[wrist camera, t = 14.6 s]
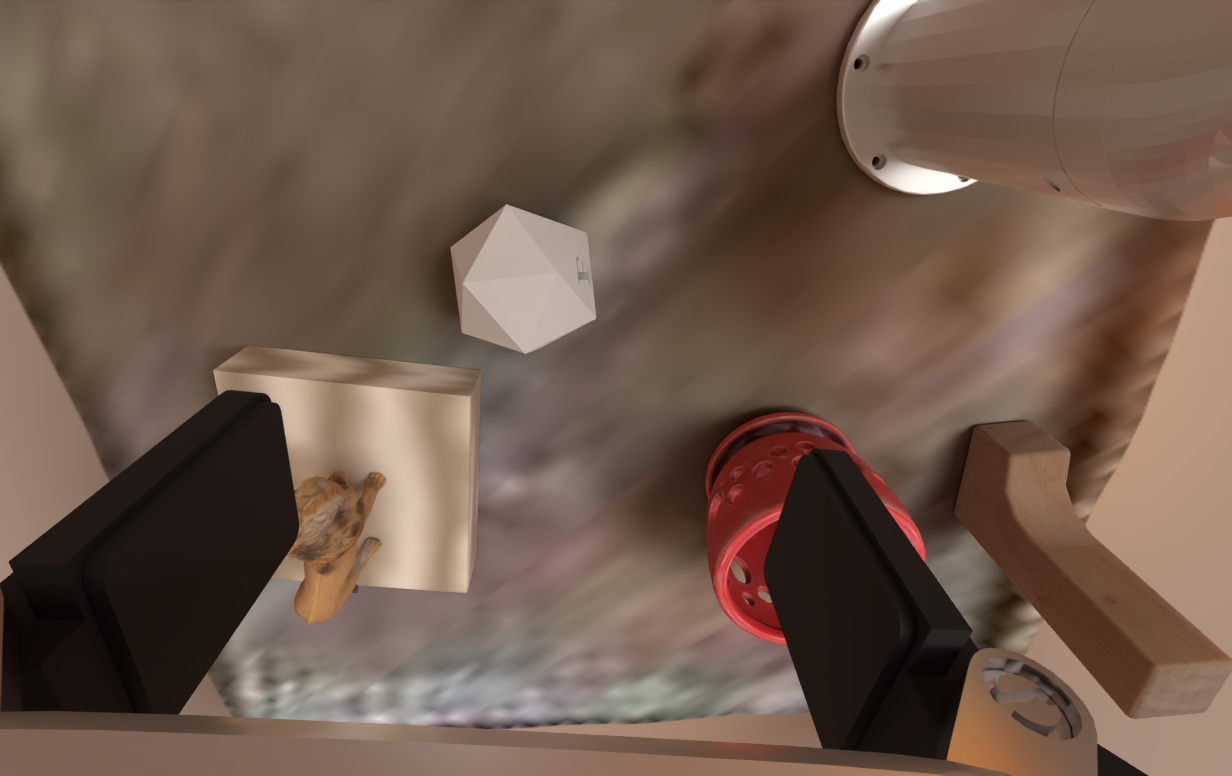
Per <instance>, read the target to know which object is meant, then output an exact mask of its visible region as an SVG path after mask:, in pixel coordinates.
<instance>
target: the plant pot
mask: <svg viewBox="0 0 1232 776" xmlns="http://www.w3.org/2000/svg"><path fill="white" fill-rule="evenodd" d="M814 448H821V449H831V450H841V451H846V452H847V453H848V454H849V455H850V456H851V458H852V459H853V461H854V462H855V463H856V465H857V466H858V468H859V469H860V471H861V472H862V473H863V475H864V476H865V478H866V479H867V481H868V482H869V483H870V485H871V486H872V488H873V489H874V491H875V492H876V493H877V495H878V496H879V498H880V499H881V501H882V502H883V503H884V505H885V506H886V508H887V509H888V511H889V512H890V513H891V515H892V516H893V518H894V519H895V521H896V522H897V523H898V525H899V526H900V528H901V529H902V531H903V532H904V533H905V535H906V536H907V538H908V539H909V541H910V542H911V543H912V545H913V546H914V548H915V549H916V551H917V552H918V553H919V555H920V556H921V558H922V559H923V561H924V562H925V563H926V555H925V547H924V543H923V540H922V537H921V534H920V532H919V530H918V529H917V527H916V525H915V523H914V522H913V520H912V518H911V517H910V515H909V513H908V512H907V510H906V509H905V507H904V506H903V504H902V503H901V502H900V501H899V499H898V498H897V497H896V495H895V494H894V493H893V491H892V490H891V489H890V488H889V487H888V485H887V484H886V483H885V482H884V481H883V480H882V479H881V477H880V476H879V475H878V474H876V473H875V472H874V471H873V470H872V469H871V468H870V467H869V466H868V465H867V464H866V463H865V462H864V461H863V460H862V459H860V458H859V457H858V456H857V455H856V454H855V451H854V449H853V446H852V444H851V443H850V441H849V440H848V438H847V437H846V436H845V435H844V434H843V433H842V431H840V430H839V429H838V428H837V427H836V426H834V425H833V424H831V423H830V422H828V421H826V420H824V419H822V418H819V417H817V416H814V415H810V414H805V413H798V412H780V413H772V414H768V415H764V416H761V417H758V418H755V419H753V420H751V421H749V422H747V423H745V424H743V425H741V426H740V427H738V428H737V429H735V430H734V431H733V432H731V433H730V434H729V435H728V436H727V437H726V438H725V439H724V440H723V441H722V442H721V443H720V445H719V446H718V447H717V449H716V450H715V452H714V454H713V455H712V457H711V459H710V462H709V464H708V467H707V472H706V493H707V497H708V500H709V502H708V508H707V520H706V543H707V554H708V562H709V569H710V574H711V579H712V584H713V588H714V592H715V595H716V598H717V600H718V603H719V605H720V606H721V608H722V610H723V611H724V612H725V614H726V615H727V616H728V617H729V618H730V619H731V620H732V621H733V622H734V623H735V624H736V625H738V626H739V627H740V628H742V629H743V630H745V631H746V632H748V633H750V634H752V635H754V636H756V637H759V638H761V639H764V640H767V641H770V642H774V643H779V644H785V645H787V643H786V640H785V638H784V635H783V632H782V629H781V626H780V623H779V620H778V617H777V614H776V611H775V608H774V606H773V603H768V602H766V601H764V600H763V599H761V598H760V597H759V596H758V593H757V592H758V591H763V592H766V593H768V594H769V591H768V588H767V585H766V582H765V579H764V561H765V558H766V555H767V552H768V549H769V546H770V543H771V540H772V537H773V534H774V531H775V529H776V526H777V523H778V520H779V517H780V514H781V511H782V508H783V505H784V502H785V499H786V496H787V493H788V491H789V488H790V485H791V482H792V479H793V476H794V473H795V470H796V467H797V464H798V461H799V459H800V457H801V456H802V455H809V453H810V451H811V450H812V449H814ZM733 560H734V561H735V562H737V563H738V565H739V566H740V567H741V568H742V570H743V572H744V574H745V578H746V583H745V584H744V583H742V582H740V581H739V580H738V579H737V578H736V577H735V575H734V573H733V571H732V569H731V567H730V565H731V563H732V561H733ZM769 595H770V594H769ZM743 597H744V598H745V599H746V600H747V601H748V602H749V604H750V605H749V604H748V603H747V602H746V601H745V600H744V598H743Z"/></svg>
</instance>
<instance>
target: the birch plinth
mask: <svg viewBox="0 0 1232 776" xmlns="http://www.w3.org/2000/svg"><path fill="white" fill-rule="evenodd" d="M213 372H214V377H215V382H216V386H217V391H218V395H220V394H221V393H223V392H225V391H226V390H238V391H248V392H258V393H265V394H267V395H268V396H269V397H270V399H271V402H275V403H277V404H279V406H280V408H281V412H282V418H283V424H284V430H285V436H286V443H287V449H288V455H289V461H290V467H291V474H292V480H293V486H294V490H297V489H298V488H299V486H300V484H301V482H302V481H304V480H305V479H306V478H312V477H314V476H318V477H325V478H326V480H328V477H329V476H330V475H331V474H332V473H336V472H341V473H343V474H345V475H346V477H347V479H348V485H350V486H352V488H353V489H354V491H355V494H357V495H358V497H359V499H360V497H361V496H362V494H363V492H364V486H365V482H366V481H367V480H368V478H369V476H370V474H371V473H381V474H382V475H384V477H385V478H386V484H385V485H384V486H383V487H382V488H381V489H380V490H379V492H378V494H377V496H376V499H375V502H374V504H373V507H372V510H371V513H370V515H369V517H368V518H367V520H366V522H365V525H364V528H363V531H362V533H361V535H360V537H359V538H358V546H357V552H356V556H355V560H354V562H355V561H356V560H357V559H358V557H359V556H360V554H361V552H362V550H363V547H364V544H365V542H366V540H368V539H369V538H373V539H378V540H379V541H380V542H381V547H380V549H379V550H378V551H377V552H375V553H374V554H373V555H372V556H371V558H370V559H369V560H368V562H367V564H366V565H365V567H364V568H363V569H362V570H361V573H360V575H359V578H358V580H357V582H356V584H357V585H363V586H377V587H391V588H405V589H419V590H433V591H447V592H461V593H467V591H468V587H469V583H470V579H471V575H472V572H473V568H474V564H475V560H476V554H477V517H478V480H479V443H480V406H481V370H476V369H466V368H457V367H447V366H438V365H428V364H419V363H410V362H400V361H391V360H381V359H372V358H363V357H353V356H344V355H334V354H325V353H315V352H306V351H297V350H287V349H278V348H268V347H259V346H250V345H248V346H247V347H245V348H244V349H242V350H241V351H240V352H238V353H237V354H235V355H234V356H233V357H231V358H230V359H228V360H227V361H226V362H224V363H223V364H221V365H220V366H218V367H217V368H216V369H214V370H213ZM353 564H354V563H353ZM352 567H353V566H352ZM304 578H305V574H304V561H302V560H298V559H296V558H289V557H288V556H286V557H285V558H284V560H283V561H282V563H281V564H280V566H279V567H278V569H277V570H276V572H275V573H274V574H273V576H272V577H271V579H280V580H294V581H303V580H304Z"/></svg>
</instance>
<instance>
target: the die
mask: <svg viewBox="0 0 1232 776" xmlns="http://www.w3.org/2000/svg"><path fill="white" fill-rule="evenodd" d="M450 249H451V256H452V264H453V271H454V278H455V286H456V293H457V301H458V308H459V315H460V323H461V330H462V333H464V334H467V335H470V336H473V337H476V338H479V339H482V340H485V341H488V342H491V343H494V344H497V345H500V346H503V347H506V348H509V349H512V350H515V351H518V352H521V353H524V354H526V353H529V352H532V351H535V350H538V349H540V348H542V347H544V346H546V345H547V344H549V343H551V342H553V341H555V340H557V339H559V338H561V337H562V336H564V335H566V334H568V333H570V332H572V331H574V330H576V329H578V328H579V327H581V326H583V325H585V324H587V323H589V322H591V321H593V320H595V319H596V310H595V301H594V292H593V283H592V273H591V264H590V255H589V245H588V236H587V233H586V232H584V231H581V230H578V229H575V228H572V227H569V226H567V225H564V224H561V223H558V222H555V221H552V220H550V219H547V218H544V217H541V216H538V215H536V214H533V213H530V212H527V211H524V210H521V209H519V208H516V207H513V206H510V205H507V204H506V205H505V206H504V207H502V208H501V209H500V210H498V211H497V212H496V213H495V214H493V215H492V216H491V217H489V218H488V219H487V220H485V221H484V222H483V223H482V224H480V225H479V226H478V227H476V228H475V229H474V230H472V231H471V232H470V233H469V234H467V235H466V236H465V237H463V238H462V239H461V240H460V241H458V242H457V243H456V244H454V245H453V246H452V247H450Z"/></svg>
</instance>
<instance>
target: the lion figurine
mask: <svg viewBox="0 0 1232 776" xmlns="http://www.w3.org/2000/svg"><path fill="white" fill-rule="evenodd" d="M385 484H386V478H385V477H384V475H382V474H381V473H371V474H370V476H369V478H368V480H367V481H366V482H365V486H364V492H363V494H362V496H361V497H360V499H359V497H358V495H357V494H355V491H354V489H353V488H352V486H350V485H348V479H347V477H346V475H345V474H343V473H341V472H336V473H332V474H331V475H330V476H329V477H328V480H326V478H325V477H318V476H314V477H312V478H306V479H305V480H304V481H302V482H301V484H300V486H299V488H298V489H297V490H294V492H295V499H296V505H297V511H298V517H299V532H298V536H297V539H296V541H295V543H294V545H293V546H292V548H291V549H290V551H289V552H288V554H287V555H286V556H288V557H289V558H296V559H298V560H302V561H304V574H305V578H304V580H303V581H302V583H301V585H300V587H299V589H298V592H297V594H296V596H295V600H294V609H295V612H296V614H297V615H298V616H299V617H301V618H302V619H304V620H305V622H306V623H308V624H314V623H316V622H323V621H326V620H328V619H329V618H331V617H333V616H334V615H335V614H336V613H337V612H338V611H339V610H340V609H341V608H342V606H343V605H344V604H345V602H346V601H347V599H348V598H349V596H350V595H351V593H352V592H354V593H358V586H357V584H356V582H357V580H358V578H359V575H360V573H361V570H362V569H363V568H364V567H365V565H366V564H367V562H368V560H369V559H370V558H371V556H372V555H373V554H374V553H375V552H377V551H378V550H379V549H380V547H381V542H380V541H379V540H378V539H373V538H369V539H368V540H366V542H365V544H364V547H363V550H362V552H361V554H360V556H359V557H358V559H357V560H356V561H355V562H354V560H355V556H356V552H357V546H358V538H359V537H360V535H361V533H362V531H363V528H364V525H365V522H366V520H367V518H368V517H369V515H370V513H371V510H372V507H373V504H374V502H375V499H376V496H377V494H378V492H379V490H380V489H381V488H382V487H383V486H384V485H385ZM353 563H354V564H353ZM352 566H353V567H352Z"/></svg>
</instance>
